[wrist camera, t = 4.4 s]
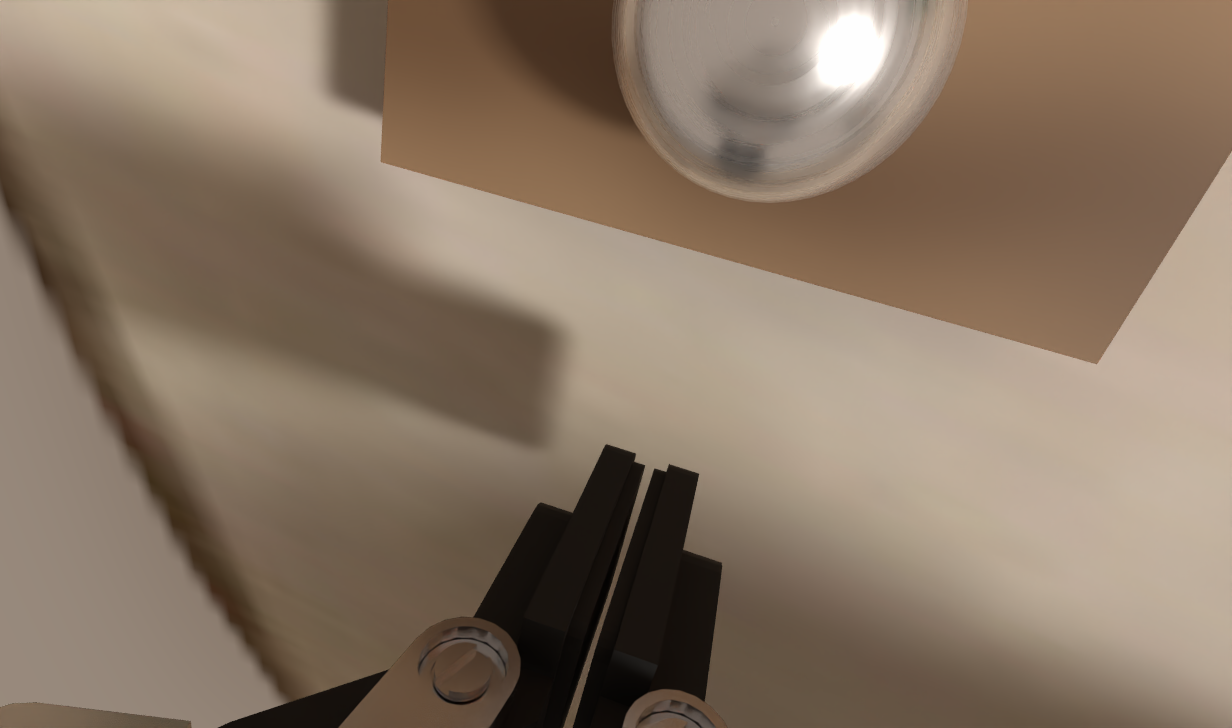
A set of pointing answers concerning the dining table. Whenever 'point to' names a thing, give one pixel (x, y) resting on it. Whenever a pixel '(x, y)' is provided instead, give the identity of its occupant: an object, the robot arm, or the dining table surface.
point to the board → (888, 194)
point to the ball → (781, 86)
